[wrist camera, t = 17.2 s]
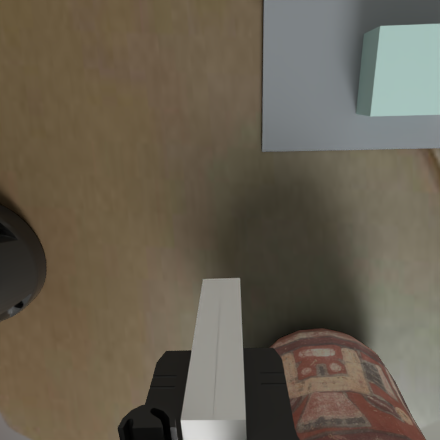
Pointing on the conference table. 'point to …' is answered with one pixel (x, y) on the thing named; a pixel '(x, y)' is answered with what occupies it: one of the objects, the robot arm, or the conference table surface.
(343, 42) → the slate mat
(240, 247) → the conference table surface
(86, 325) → the conference table surface
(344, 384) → the pottery
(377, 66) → the painted block
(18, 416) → the conference table surface
